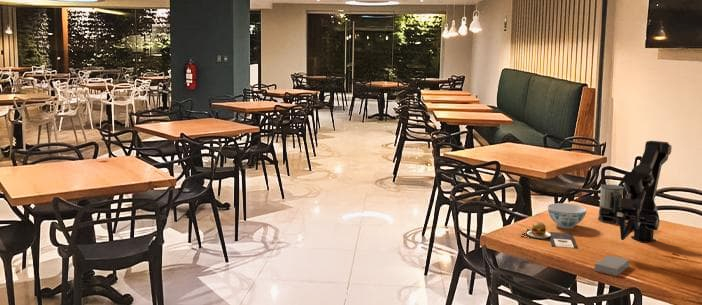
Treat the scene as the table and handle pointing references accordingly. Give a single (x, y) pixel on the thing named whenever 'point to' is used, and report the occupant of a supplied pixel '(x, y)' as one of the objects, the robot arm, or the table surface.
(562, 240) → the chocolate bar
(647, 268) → the table surface
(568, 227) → the chinaware
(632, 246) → the table surface
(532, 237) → the hamburger
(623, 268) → the ceramic tile
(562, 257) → the table surface
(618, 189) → the milk frother
